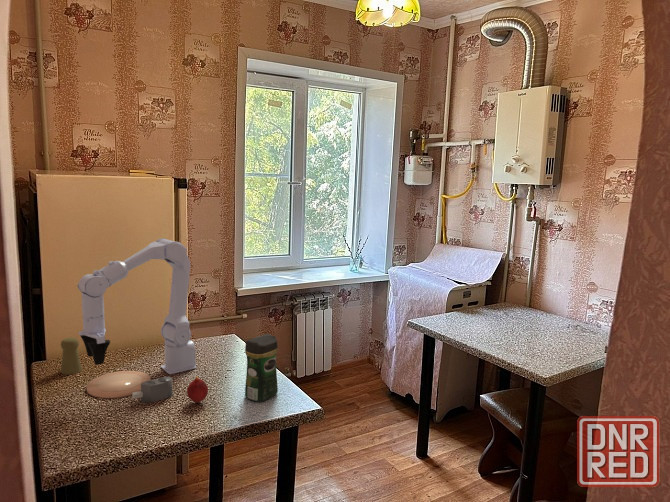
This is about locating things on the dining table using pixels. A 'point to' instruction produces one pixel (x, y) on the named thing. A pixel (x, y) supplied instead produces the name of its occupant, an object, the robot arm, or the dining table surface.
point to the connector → (155, 390)
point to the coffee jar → (261, 368)
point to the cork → (70, 356)
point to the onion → (197, 390)
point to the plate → (117, 384)
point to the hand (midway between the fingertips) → (95, 359)
